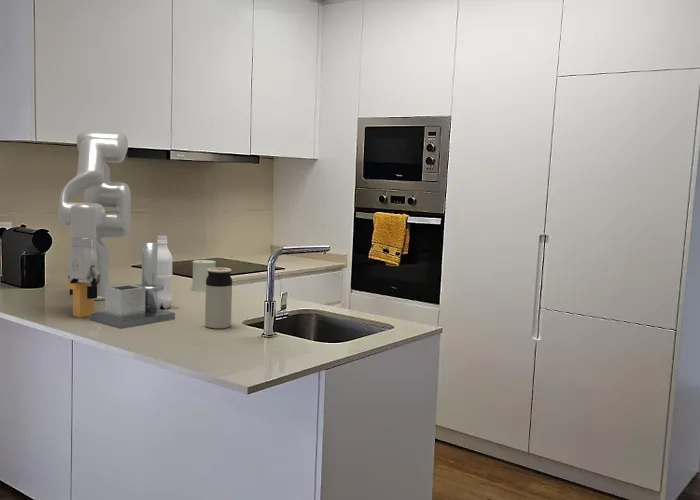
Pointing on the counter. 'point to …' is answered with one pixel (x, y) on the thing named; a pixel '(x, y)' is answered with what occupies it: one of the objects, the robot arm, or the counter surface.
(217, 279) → the travel mug
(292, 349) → the counter surface
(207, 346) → the counter surface
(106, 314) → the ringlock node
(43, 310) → the counter surface
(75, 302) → the orange upright block
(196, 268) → the can
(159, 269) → the water bottle
